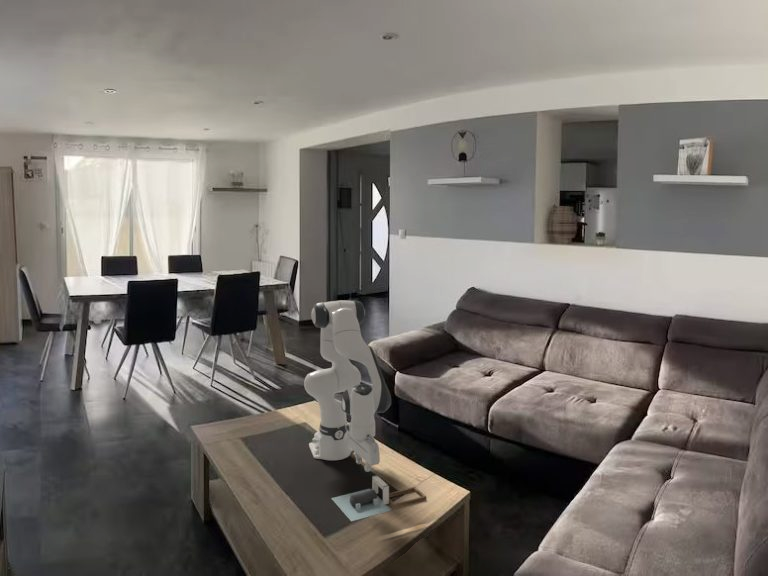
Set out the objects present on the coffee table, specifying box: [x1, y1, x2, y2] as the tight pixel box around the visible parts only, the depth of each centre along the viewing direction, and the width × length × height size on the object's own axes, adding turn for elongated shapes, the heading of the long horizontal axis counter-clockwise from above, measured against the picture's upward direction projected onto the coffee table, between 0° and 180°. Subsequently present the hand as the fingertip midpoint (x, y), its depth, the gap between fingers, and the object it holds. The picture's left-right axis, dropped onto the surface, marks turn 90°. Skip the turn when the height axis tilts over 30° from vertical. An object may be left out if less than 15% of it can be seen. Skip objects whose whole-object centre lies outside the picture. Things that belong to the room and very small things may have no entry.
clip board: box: [331, 488, 393, 522], centre depth 216 cm, size 18×16×3 cm
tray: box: [388, 486, 427, 509], centre depth 220 cm, size 9×14×2 cm, turn 118°
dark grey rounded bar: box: [350, 489, 378, 507], centre depth 216 cm, size 4×9×4 cm, turn 118°
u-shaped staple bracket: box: [371, 474, 390, 505], centre depth 219 cm, size 10×2×7 cm, turn 28°
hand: (363, 466), depth 215 cm, fingers open, 5 cm apart
